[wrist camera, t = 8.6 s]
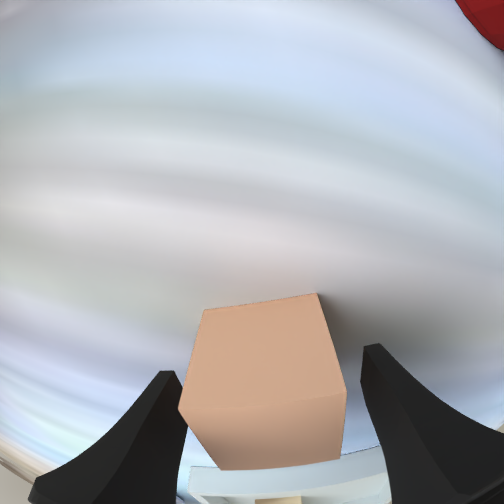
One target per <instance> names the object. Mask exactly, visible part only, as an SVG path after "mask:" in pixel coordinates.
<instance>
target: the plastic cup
mask: <svg viewBox="0 0 504 504" xmlns="http://www.w3.org/2000/svg"><path fill="white" fill-rule="evenodd" d="M456 2H457V3H458V5H459V6H460V8H461V9H462V11H463V13H464V14H465V16H466V17H467V18H468V19H469V20H470V21H471V22H472V24H473V25H474V26H475V27H476V28H477V30H478V31H479V32H480V33H481V35H483V36H484V37H485V38H486V39H488V40H489V41H490V42H491V43H492V44H493V45H495V46H496V47H497V48H499V49H501V50H504V0H456Z"/></svg>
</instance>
